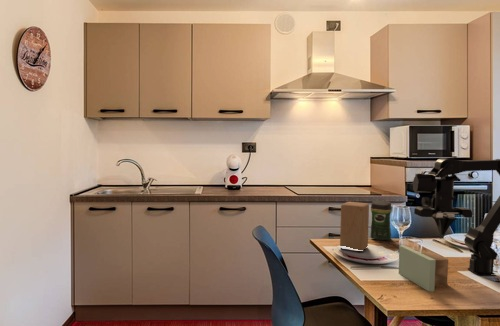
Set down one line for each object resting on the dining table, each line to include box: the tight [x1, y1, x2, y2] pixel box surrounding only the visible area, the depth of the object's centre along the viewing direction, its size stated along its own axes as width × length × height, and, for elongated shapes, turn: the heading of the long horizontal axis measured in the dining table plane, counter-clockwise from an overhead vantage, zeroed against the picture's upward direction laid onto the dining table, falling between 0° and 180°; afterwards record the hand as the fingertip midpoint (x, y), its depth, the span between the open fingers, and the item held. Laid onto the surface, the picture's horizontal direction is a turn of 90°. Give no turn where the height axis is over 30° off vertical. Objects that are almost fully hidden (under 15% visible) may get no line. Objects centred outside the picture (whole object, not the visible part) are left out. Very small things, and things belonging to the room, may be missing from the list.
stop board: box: [398, 244, 436, 292], centre depth 119 cm, size 2×16×10 cm, turn 10°
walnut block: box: [421, 251, 449, 286], centre depth 120 cm, size 8×8×8 cm
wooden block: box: [339, 201, 370, 251], centre depth 155 cm, size 10×10×20 cm
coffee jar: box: [369, 200, 393, 241], centre depth 172 cm, size 10×8×19 cm
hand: (441, 235), depth 129 cm, fingers closed
